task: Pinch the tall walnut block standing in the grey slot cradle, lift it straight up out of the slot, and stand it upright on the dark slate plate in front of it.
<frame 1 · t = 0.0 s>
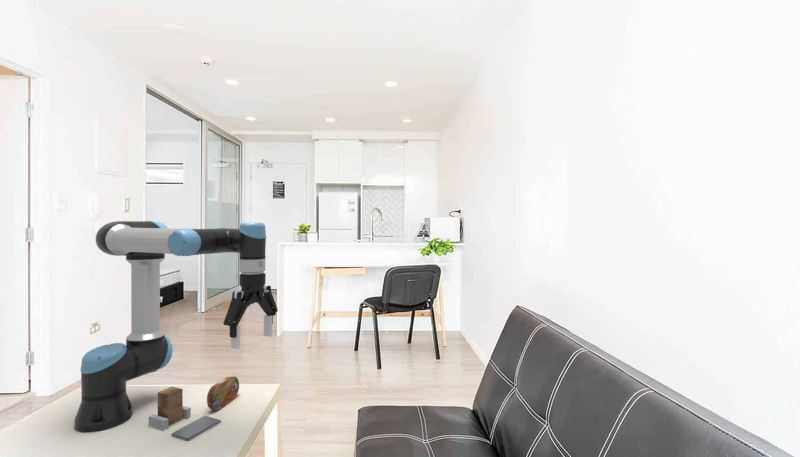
hand: (252, 341, 122), 28 cm above the table, tool pointing down, fingers open, 13 cm apart
cradle: (170, 421, 128), on the table
walnut block: (170, 421, 128), on the table
slate plate: (197, 428, 124), on the table
tin: (223, 404, 141), on the table
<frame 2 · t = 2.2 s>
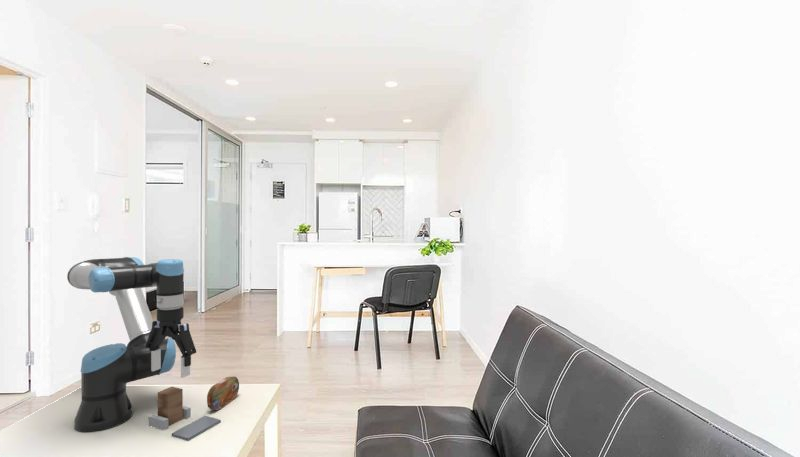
hand: (170, 373, 128), 16 cm above the table, tool pointing down, fingers open, 13 cm apart
nothing on the table moved.
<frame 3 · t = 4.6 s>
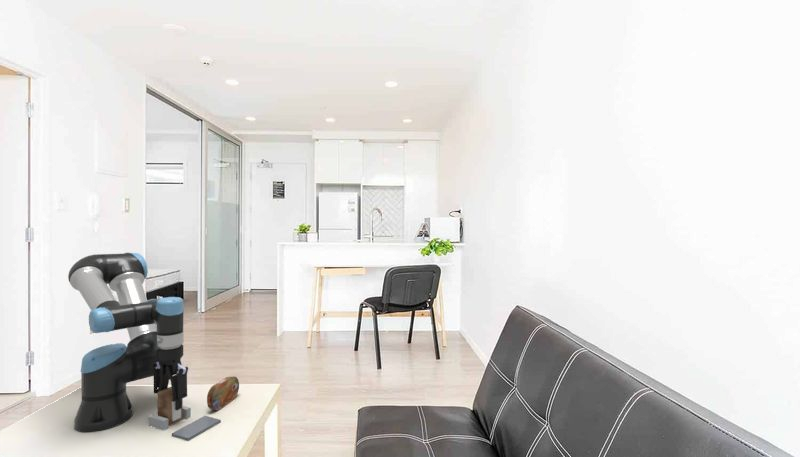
hand: (170, 417, 128), 1 cm above the table, tool pointing down, fingers closed on walnut block, 5 cm apart
walnut block: (170, 421, 128), on the table, touching gripper
everything else where it was.
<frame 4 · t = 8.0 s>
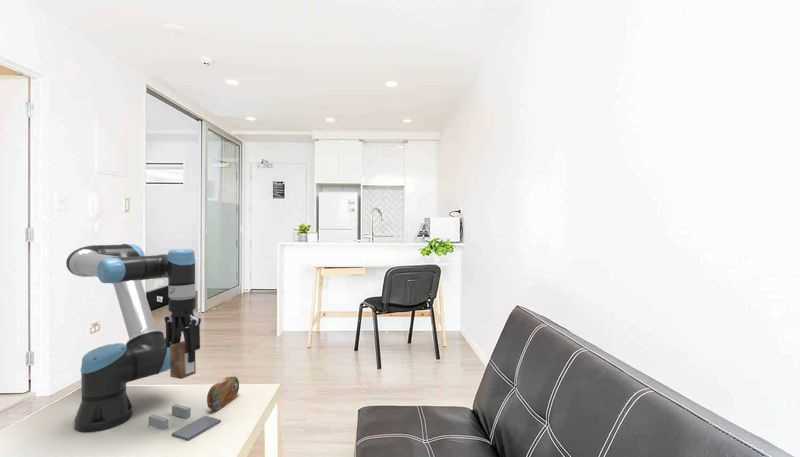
hand: (183, 371, 125), 17 cm above the table, tool pointing down, fingers closed on walnut block, 5 cm apart
walnut block: (183, 375, 125), point 16 cm above the table, touching gripper
everything else where it was.
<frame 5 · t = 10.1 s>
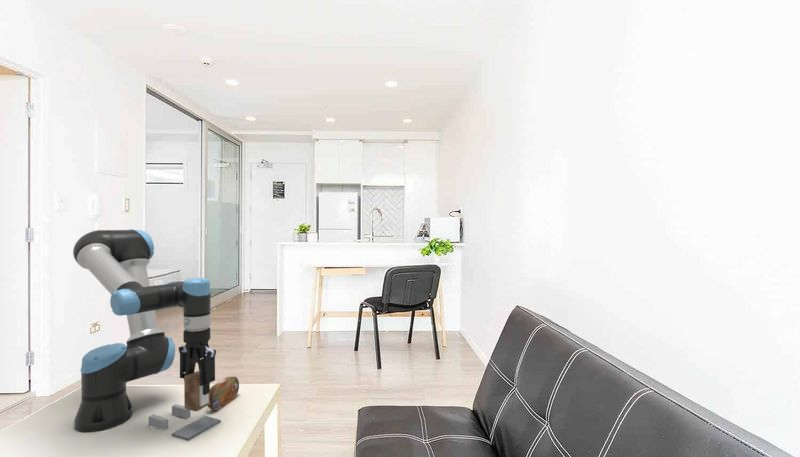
hand: (197, 402, 123), 8 cm above the table, tool pointing down, fingers closed on walnut block, 5 cm apart
walnut block: (197, 406, 123), point 7 cm above the table, touching gripper
everything else where it was.
when the fingers open (3 cm above the table, at t = 11.7 s): walnut block drops 1 cm, resting on slate plate.
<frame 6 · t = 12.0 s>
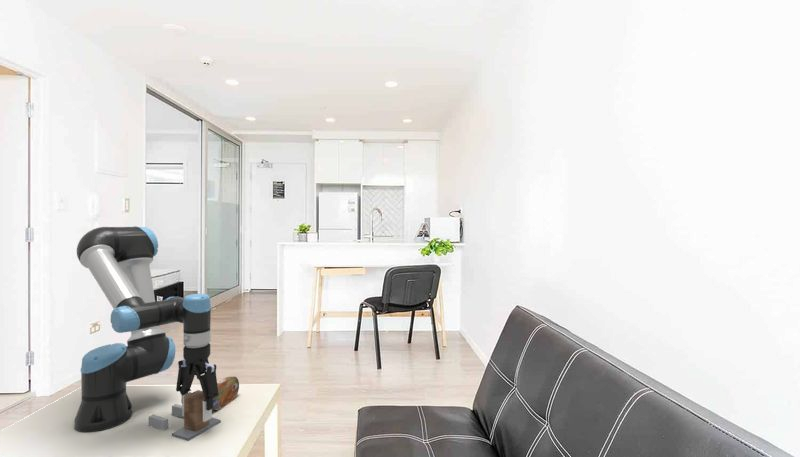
hand: (197, 416, 124), 4 cm above the table, tool pointing down, fingers open, 8 cm apart
walnut block: (196, 426, 124), point 1 cm above the table, touching slate plate
everything else where it was.
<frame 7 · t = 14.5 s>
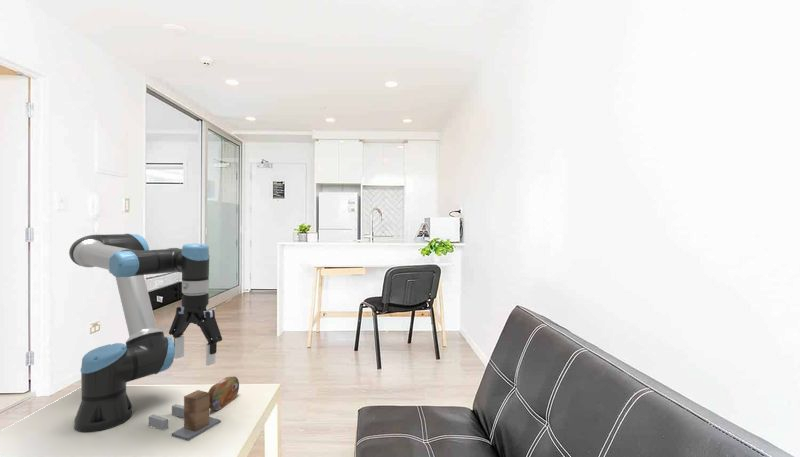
hand: (194, 360, 124), 21 cm above the table, tool pointing down, fingers open, 13 cm apart
nothing on the table moved.
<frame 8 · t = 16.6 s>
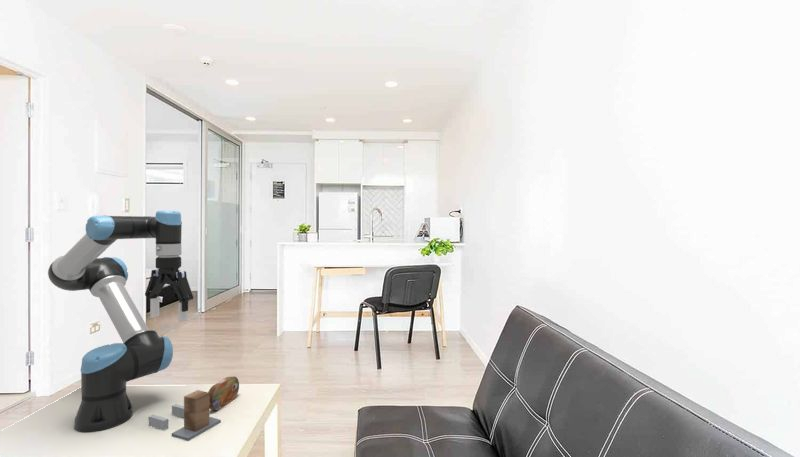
hand: (168, 319, 134), 32 cm above the table, tool pointing down, fingers open, 13 cm apart
nothing on the table moved.
at the end: walnut block 0.0 cm from the target spot, point 0.8 cm above the table; walnut block tilted 0°; the gripper is holding nothing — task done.
